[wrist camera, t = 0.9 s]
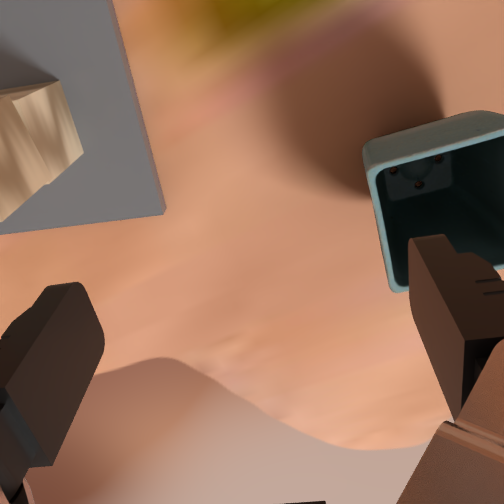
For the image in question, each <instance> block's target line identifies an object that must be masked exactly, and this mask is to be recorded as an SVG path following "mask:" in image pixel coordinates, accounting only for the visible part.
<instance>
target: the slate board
mask: <svg viewBox="0 0 504 504" xmlns="http://www.w3.org/2000/svg"><path fill="white" fill-rule="evenodd" d="M59 80H60V82H61V85H62V88H63V91H64V94H65V97H66V100H67V103H68V106H69V109H70V112H71V115H72V118H73V121H74V125H75V128H76V131H77V134H78V137H79V140H80V143H81V146H82V149H83V152H84V153H83V154H82V155H81V156H80V157H79V158H78V159H77V160H76V161H74V162H73V163H72V164H71V165H70V166H69V167H68V168H67V169H66V170H64V171H63V172H62V173H61V174H60V175H59V176H58V177H57V178H56V179H55V180H53V181H52V182H51V183H50V184H46V185H43V186H42V187H41V188H40V189H39V190H38V191H37V192H36V193H34V194H33V195H32V196H31V197H30V198H29V199H28V200H27V201H25V202H24V203H23V204H22V205H21V206H20V207H19V208H17V209H16V210H15V211H14V212H13V213H12V214H11V215H10V216H8V217H7V218H6V219H5V220H4V221H3V222H0V235H3V234H11V233H19V232H27V231H35V230H43V229H52V228H60V227H68V226H76V225H84V224H92V223H100V222H108V221H117V220H125V219H133V218H141V217H149V216H157V215H164V212H165V210H166V204H165V200H164V197H163V193H162V189H161V185H160V181H159V177H158V174H157V170H156V166H155V162H154V158H153V154H152V151H151V147H150V143H149V139H148V135H147V132H146V128H145V124H144V120H143V116H142V112H141V109H140V105H139V101H138V97H137V93H136V89H135V86H134V82H133V78H132V74H131V70H130V66H129V63H128V59H127V55H126V51H125V47H124V43H123V40H122V36H121V32H120V28H119V24H118V20H117V17H116V13H115V9H114V5H113V1H112V0H0V90H2V89H8V88H15V87H21V86H27V85H34V84H40V83H46V82H52V81H59Z"/></svg>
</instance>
